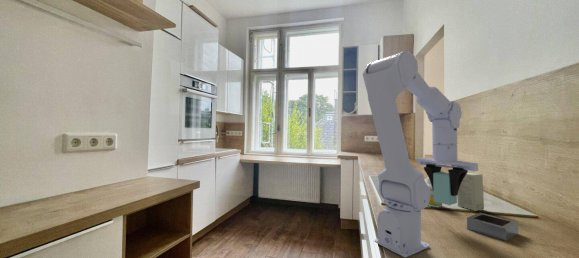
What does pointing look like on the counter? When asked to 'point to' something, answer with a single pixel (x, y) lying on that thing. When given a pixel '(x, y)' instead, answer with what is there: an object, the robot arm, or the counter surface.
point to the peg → (443, 188)
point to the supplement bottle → (432, 196)
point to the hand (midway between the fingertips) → (445, 193)
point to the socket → (492, 226)
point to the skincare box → (471, 192)
